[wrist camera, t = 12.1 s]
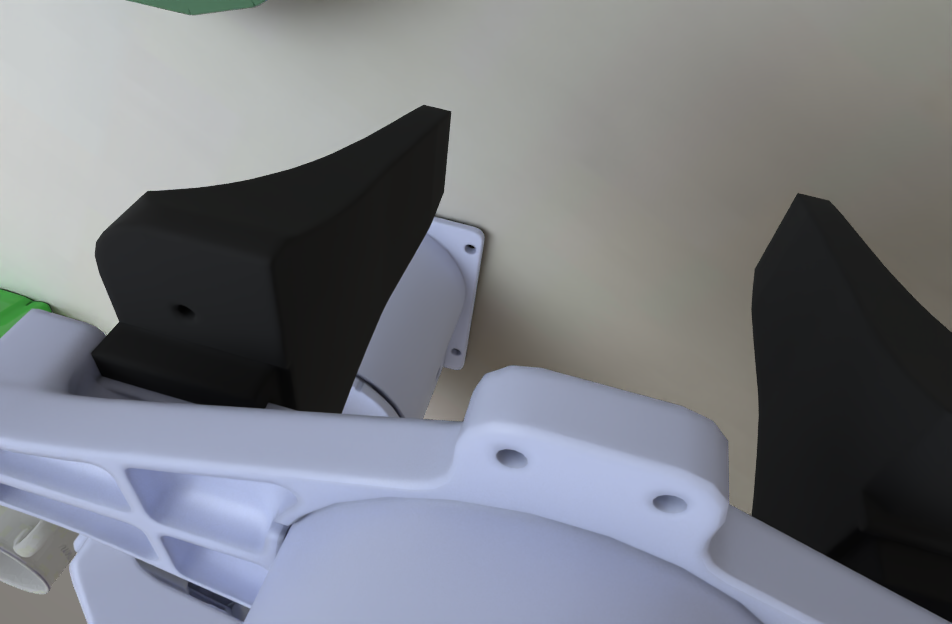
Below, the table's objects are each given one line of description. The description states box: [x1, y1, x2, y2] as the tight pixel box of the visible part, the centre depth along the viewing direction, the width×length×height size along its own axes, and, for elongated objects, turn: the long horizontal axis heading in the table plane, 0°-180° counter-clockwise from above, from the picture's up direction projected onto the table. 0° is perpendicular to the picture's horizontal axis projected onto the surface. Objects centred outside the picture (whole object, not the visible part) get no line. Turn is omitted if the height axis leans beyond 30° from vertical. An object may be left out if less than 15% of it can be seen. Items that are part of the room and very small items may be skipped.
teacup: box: [0, 505, 79, 594], centre depth 61 cm, size 14×11×8 cm
